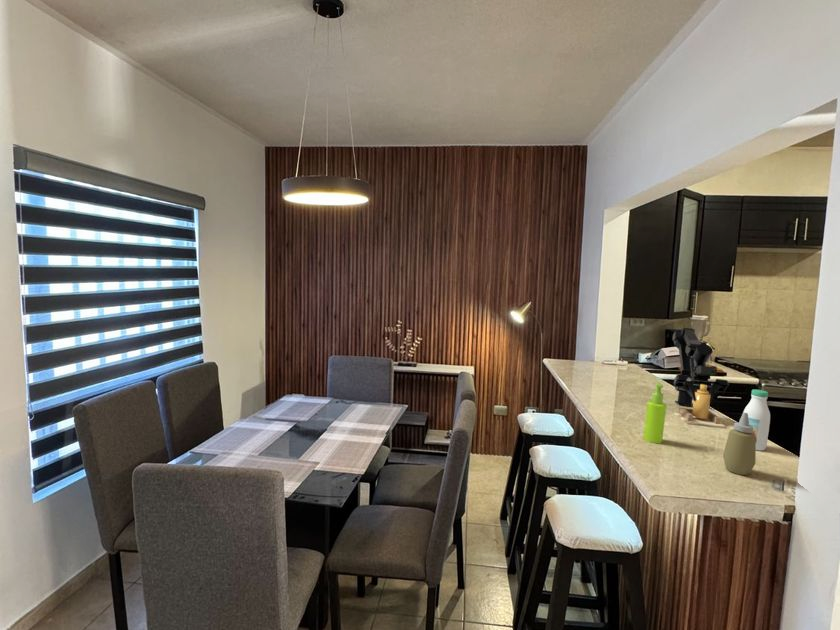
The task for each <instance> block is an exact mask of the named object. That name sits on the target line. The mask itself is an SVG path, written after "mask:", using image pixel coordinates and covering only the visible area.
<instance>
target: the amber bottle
mask: <svg viewBox="0 0 840 630" xmlns="http://www.w3.org/2000/svg"><path fill="white" fill-rule="evenodd" d="M707 389H708V386H707V385H705V384H700V388H699V390H697V391H696V392H695V401H694V400H693V401H692V404H693V407H692V408H691V409H692V415H693V416H695V417H698V418H708V413H709V411H710V404H711V403H710V398H711V394H709V390H707Z"/></svg>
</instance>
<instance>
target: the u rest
mask: <svg viewBox="0 0 840 630" xmlns="http://www.w3.org/2000/svg"><path fill="white" fill-rule="evenodd" d="M678 409H679V410H678V411H674V415H676V416H677V417H678V418H679V417H680V419H681V421H683V422H684V423H685V422H686V423H685V424H687V425H691V424H694V425H693V426H700V425H703V426H704V427H709V426H712V427H713V428H718V427H720V429H727V426H726V425H725V424H723V423H721V419H722V418H721V417H720V416H718V415H716V413H713V412H712V411H711V410H709V413H708V418H698V417H695V416H693V415H692V409H693V408H687V407H678ZM703 426H702V427H703ZM712 427H711V428H712Z"/></svg>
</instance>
